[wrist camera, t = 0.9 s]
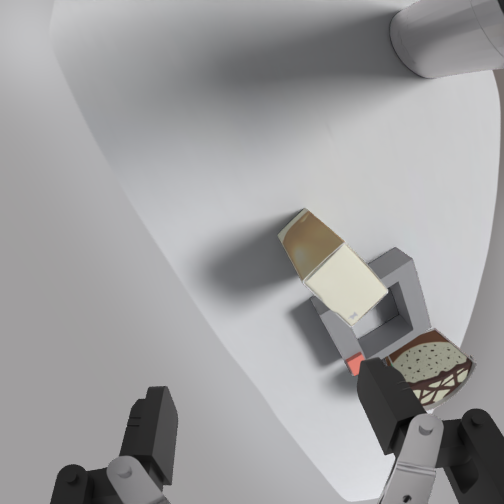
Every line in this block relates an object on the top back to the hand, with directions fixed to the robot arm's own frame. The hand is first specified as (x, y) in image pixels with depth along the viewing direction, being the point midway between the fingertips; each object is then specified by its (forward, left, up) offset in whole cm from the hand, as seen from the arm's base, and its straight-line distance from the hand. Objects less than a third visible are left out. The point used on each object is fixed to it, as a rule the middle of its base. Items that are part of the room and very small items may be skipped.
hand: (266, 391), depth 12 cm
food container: (-12, +28, -23) cm, 38 cm away
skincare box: (-6, +4, -23) cm, 24 cm away
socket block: (-9, +16, -22) cm, 29 cm away
